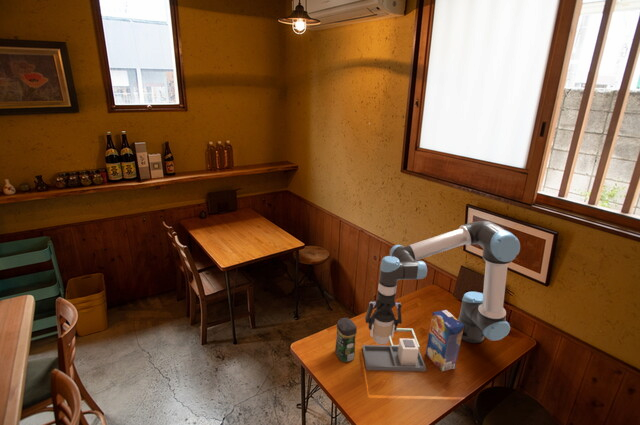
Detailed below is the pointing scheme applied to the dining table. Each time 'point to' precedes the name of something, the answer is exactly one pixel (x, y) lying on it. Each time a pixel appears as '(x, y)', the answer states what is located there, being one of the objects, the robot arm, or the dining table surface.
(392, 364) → the divided tray
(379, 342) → the coffee cup
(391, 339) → the square frame
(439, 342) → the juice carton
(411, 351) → the white box
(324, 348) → the dining table surface
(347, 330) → the coffee jar
